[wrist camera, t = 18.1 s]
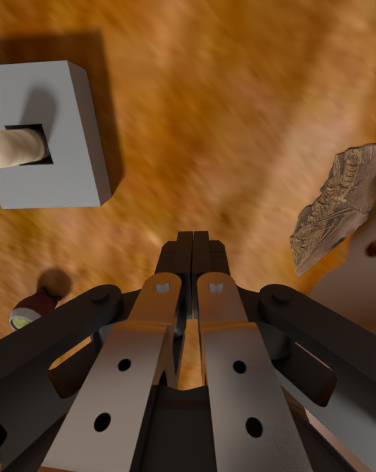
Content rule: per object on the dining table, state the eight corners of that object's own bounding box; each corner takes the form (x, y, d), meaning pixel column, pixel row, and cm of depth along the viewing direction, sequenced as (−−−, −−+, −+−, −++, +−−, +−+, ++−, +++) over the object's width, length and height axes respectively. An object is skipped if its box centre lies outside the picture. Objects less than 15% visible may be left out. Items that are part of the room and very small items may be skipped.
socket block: (-24, 76, 32) (-60, 69, 27) (86, 69, 31) (66, 60, 26) (24, 199, 40) (2, 208, 35) (112, 196, 39) (100, 206, 34)
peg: (34, 128, 34) (-32, 130, 24) (60, 127, 34) (4, 128, 24) (43, 157, 36) (-15, 169, 26) (68, 156, 36) (19, 168, 26)
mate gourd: (27, 284, 49) (-38, 345, 35) (63, 285, 48) (10, 347, 35) (38, 309, 52) (-18, 373, 39) (70, 310, 52) (26, 376, 38)
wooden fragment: (351, 128, 33) (355, 128, 32) (414, 154, 34) (420, 155, 33) (266, 264, 44) (268, 267, 43) (315, 280, 45) (318, 284, 44)
